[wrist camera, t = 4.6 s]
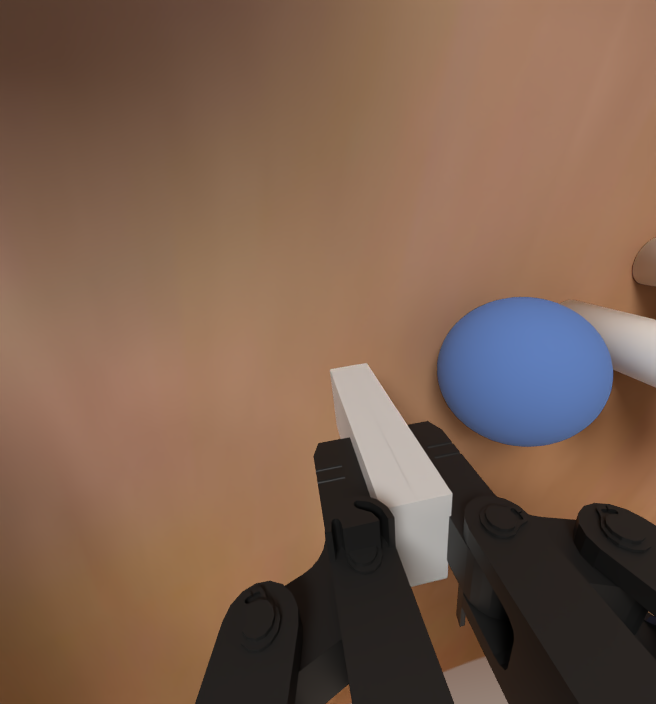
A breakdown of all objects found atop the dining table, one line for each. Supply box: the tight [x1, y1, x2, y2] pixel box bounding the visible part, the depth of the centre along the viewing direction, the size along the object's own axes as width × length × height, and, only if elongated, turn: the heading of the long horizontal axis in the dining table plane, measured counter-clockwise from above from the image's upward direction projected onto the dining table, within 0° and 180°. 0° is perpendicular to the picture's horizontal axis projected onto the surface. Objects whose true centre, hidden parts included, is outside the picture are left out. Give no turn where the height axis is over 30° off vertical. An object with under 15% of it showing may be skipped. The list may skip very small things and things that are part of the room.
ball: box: [437, 297, 613, 447], centre depth 13 cm, size 6×6×6 cm
